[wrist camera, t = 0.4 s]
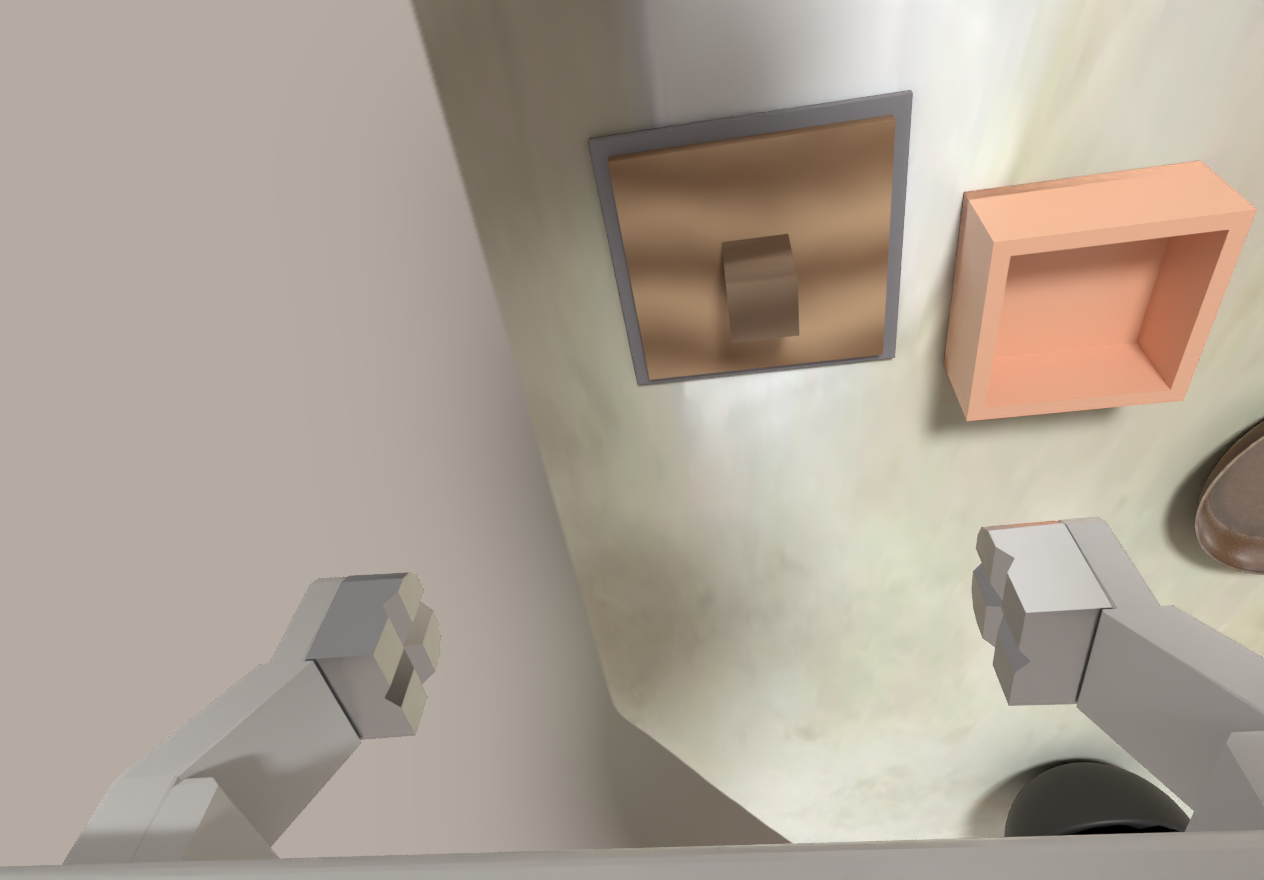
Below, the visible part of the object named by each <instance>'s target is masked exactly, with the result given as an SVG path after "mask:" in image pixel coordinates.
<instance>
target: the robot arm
mask: <svg viewBox="0 0 1264 880" xmlns="http://www.w3.org/2000/svg"><path fill="white" fill-rule="evenodd" d="M976 550H977V552H978V555H979V557H980V559H981V562H982V563H981V564H980V565H979V566H978V567H977V568H976V569H975V570H974V571H973V578H972V600H973V609H974V613H975V617H976V621H977V624H978V627H979V630H980V632H981V635H982V638H983V639H985V640H986V641H987V642H989V643H990V644H991V645H993V646H994V647H995V652H994V659H993V667H994V669H995V672H996V674H997V677H998V679H999V682H1000V684H1001V687H1002V690H1003V692H1004V695H1005V697H1006V700H1007V702H1008V705H1009V706H1015V705H1055V704H1077V708H1078V709H1079V710H1080V711H1081V712H1083V713H1084V714H1085V715H1086V716H1087V717H1088V718H1089V719H1091V720H1092V721H1093V722H1094V723H1095V724H1096V725H1097V726H1098V727H1100V728H1101V729H1102V730H1103V731H1104V732H1105V733H1106V734H1108V735H1109V736H1110V737H1111V738H1112V739H1113V740H1114V741H1115V742H1117V743H1118V744H1119V745H1120V746H1121V747H1122V748H1123V749H1124V750H1126V751H1127V752H1128V753H1129V754H1130V755H1131V756H1132V757H1134V758H1135V759H1136V760H1137V761H1138V762H1139V763H1140V764H1141V765H1143V766H1144V767H1145V768H1146V769H1147V770H1148V771H1149V772H1151V773H1152V774H1153V775H1154V776H1155V777H1156V778H1157V779H1158V780H1160V781H1161V782H1162V783H1163V784H1164V785H1165V786H1166V787H1167V788H1169V789H1170V790H1171V791H1172V792H1173V793H1174V794H1175V795H1177V796H1178V797H1179V798H1180V799H1181V800H1182V801H1183V802H1184V803H1186V804H1187V805H1188V806H1189V807H1190V808H1191V809H1192V810H1194V813H1193V815H1192V817H1191V819H1190V822H1189V824H1188V826H1187V828H1186V830H1185V832H1168V833H1134V834H1100V835H1065V836H1031V837H997V838H962V839H929V840H897V841H864V842H831V843H798V844H765V845H732V846H702V847H701V846H699V847H664V848H631V849H593V850H558V851H526V852H525V851H524V852H492V853H491V852H490V853H455V854H421V855H387V856H354V857H353V856H351V857H317V858H283V859H280V858H279V857H278V856H277V855H276V853H275V852H274V851H273V850H272V849H271V846H272V845H273V844H274V843H275V842H276V841H277V839H278V838H279V837H280V836H281V835H282V834H283V833H284V831H285V830H286V829H287V828H288V827H289V826H290V824H291V823H292V822H293V821H294V820H295V819H296V817H297V816H298V815H299V814H300V813H301V812H302V811H303V809H304V808H305V807H306V806H307V805H308V804H309V803H310V802H311V800H312V799H313V798H314V797H315V796H316V795H317V793H318V792H319V791H320V790H321V789H322V788H323V787H324V785H325V784H326V783H327V782H328V781H329V780H330V779H331V777H332V776H333V775H334V774H335V773H336V772H337V770H338V769H339V768H340V767H341V766H342V764H344V762H345V761H346V760H347V759H348V758H349V757H350V755H351V754H352V753H353V752H354V751H355V750H356V749H357V747H358V746H359V745H360V744H361V740H363V739H376V738H388V737H400V736H413V735H416V732H417V729H418V726H419V723H420V719H421V716H422V713H423V710H424V706H425V703H426V700H427V694H426V692H425V690H424V688H423V686H422V684H423V683H424V682H425V681H426V680H427V679H428V678H429V677H430V676H431V675H432V674H433V673H434V672H435V671H436V667H437V664H438V660H439V656H440V640H441V635H440V629H439V624H438V620H437V618H436V616H435V614H434V611H433V610H432V609H431V608H429V607H428V606H426V605H425V604H423V603H422V602H420V601H421V598H422V595H423V592H424V588H423V586H422V584H421V582H420V580H419V578H418V577H417V575H416V574H413V573H393V574H374V575H356V576H348V577H330V578H318V579H317V580H315V581H314V582H313V583H311V584H310V586H309V587H308V589H307V591H306V593H305V595H304V597H303V599H302V601H301V603H300V605H299V607H298V609H297V611H296V613H295V614H294V616H293V618H292V620H291V622H290V624H289V626H288V628H287V630H286V632H285V634H284V636H283V637H282V639H281V642H280V643H279V645H278V647H277V649H276V651H275V653H274V655H273V657H272V659H271V661H270V663H268V664H259V665H258V666H257V667H256V668H254V669H253V670H252V671H251V672H249V673H248V674H247V675H245V676H244V677H243V678H242V679H240V680H239V681H238V682H237V683H236V684H234V685H233V686H232V687H230V688H229V689H228V690H227V691H225V692H224V693H223V694H221V695H220V696H219V697H218V698H216V699H215V700H214V701H213V702H211V703H210V704H209V705H208V706H206V707H205V708H204V709H202V710H201V711H200V712H199V713H197V714H196V715H195V716H194V717H192V718H191V719H190V720H189V721H187V722H186V723H185V724H184V725H182V726H181V727H180V728H179V729H177V730H176V731H175V732H173V733H172V734H171V735H170V736H168V737H167V738H166V739H165V740H163V741H162V742H161V743H160V744H158V745H157V746H156V747H155V748H153V749H152V750H151V751H150V752H148V753H147V754H146V755H144V756H143V757H142V758H141V759H139V760H138V761H137V762H136V763H134V764H133V765H132V766H131V767H129V768H128V769H127V770H126V771H124V772H123V773H122V774H120V775H119V776H118V777H117V778H116V779H115V780H114V781H113V783H112V784H111V786H110V788H109V789H108V791H107V793H106V794H105V796H104V797H103V799H102V801H101V803H100V804H99V805H98V807H97V809H96V810H95V812H94V813H93V815H92V817H91V819H90V820H89V822H88V823H87V825H86V826H85V828H84V830H83V831H82V833H81V834H80V836H79V838H78V839H77V841H76V843H75V844H74V846H73V847H72V849H71V851H70V852H69V854H68V855H67V857H66V859H65V860H64V862H63V864H62V865H42V866H41V865H40V866H6V867H0V880H1264V658H1263V657H1262V656H1260V655H1258V654H1256V653H1255V652H1253V651H1251V650H1249V649H1248V648H1246V647H1244V646H1242V645H1241V644H1239V643H1237V642H1236V641H1234V640H1232V639H1230V638H1229V637H1227V636H1225V635H1223V634H1222V633H1220V632H1218V631H1216V630H1215V629H1213V628H1211V627H1210V626H1208V625H1206V624H1204V623H1203V622H1201V621H1199V620H1197V619H1196V618H1194V617H1192V616H1191V615H1189V614H1187V613H1185V612H1184V611H1182V610H1180V609H1178V608H1177V607H1175V606H1173V605H1171V606H1160V604H1159V603H1158V601H1157V600H1156V598H1155V596H1154V595H1153V593H1152V592H1151V590H1150V589H1149V587H1148V586H1147V584H1146V583H1145V581H1144V579H1143V578H1142V576H1141V575H1140V573H1139V572H1138V570H1137V569H1136V567H1135V566H1134V564H1133V563H1132V561H1131V559H1130V558H1129V556H1128V555H1127V553H1126V552H1125V550H1124V549H1123V547H1122V546H1121V544H1120V542H1119V541H1118V539H1117V538H1116V536H1115V535H1114V533H1113V532H1112V530H1111V529H1110V527H1109V526H1108V524H1107V522H1106V521H1105V520H1103V519H1101V518H1100V517H1088V518H1077V519H1066V520H1059V521H1046V522H1035V523H1023V524H1012V525H1001V526H989V527H981V529H980V531H979V533H978V537H977V544H976Z"/></svg>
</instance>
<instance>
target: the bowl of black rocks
mask: <svg viewBox="0 0 1264 880" xmlns="http://www.w3.org/2000/svg"><path fill="white" fill-rule="evenodd" d="M1189 822H1190V819H1189V817H1188V816H1187V815H1186V814H1185V812H1184V811H1183V810H1182V809H1181V808H1180V807H1179V806H1178V805H1177V804H1176V803H1175V802H1174V801H1173V800H1172V799H1171V798H1170V797H1169V796H1168V795H1167V794H1165V793H1164V792H1163V791H1161V790H1160V789H1159V788H1158V787H1156V786H1155V785H1153V784H1152V783H1150V782H1149V781H1147V780H1145V779H1143V778H1142V777H1140V776H1138V775H1136V774H1134V773H1131V772H1129V771H1126V770H1124V769H1121V768H1118V767H1114V766H1111V765H1106V764H1100V763H1092V762H1077V763H1069V764H1064V765H1060V766H1056V767H1054V768H1051V769H1049V770H1046V771H1044V772H1042V773H1041V774H1039V775H1038V776H1036V777H1035V778H1033V779H1032V780H1031V781H1030V782H1029V783H1028V784H1026V785H1025V786H1024V788H1023V789H1022V790H1021V791H1020V792H1019V794H1018V795H1017V797H1016V799H1015V800H1014V802H1013V804H1012V806H1011V809H1010V811H1009V814H1008V817H1007V821H1006V827H1005V836H1004V837H1031V836H1065V835H1100V834H1134V833H1168V832H1185V830H1186V828H1187V826H1188V824H1189Z"/></svg>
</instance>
